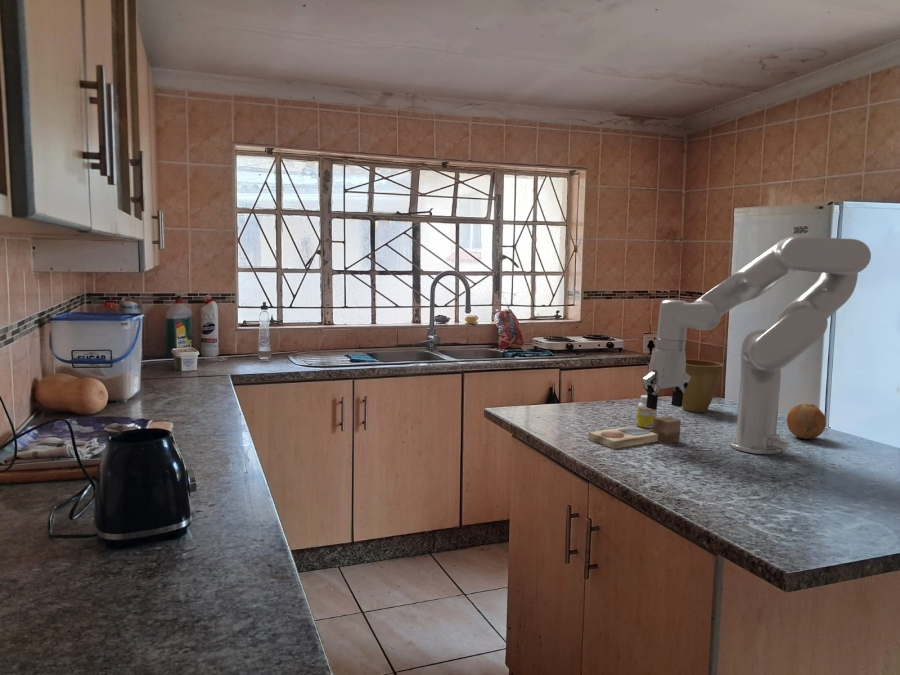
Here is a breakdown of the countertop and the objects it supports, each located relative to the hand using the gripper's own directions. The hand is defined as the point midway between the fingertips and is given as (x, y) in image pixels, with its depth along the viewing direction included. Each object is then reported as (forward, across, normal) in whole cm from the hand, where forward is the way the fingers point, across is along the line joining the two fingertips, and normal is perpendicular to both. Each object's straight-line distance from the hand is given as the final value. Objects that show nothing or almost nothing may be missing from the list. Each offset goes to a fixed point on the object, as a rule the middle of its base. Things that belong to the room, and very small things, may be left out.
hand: (664, 407), depth 182 cm
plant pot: (+9, -39, -21) cm, 45 cm away
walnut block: (+9, -1, +1) cm, 9 cm away
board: (+10, +10, -4) cm, 15 cm away
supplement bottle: (+10, -5, -10) cm, 15 cm away
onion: (+8, -39, +17) cm, 43 cm away
